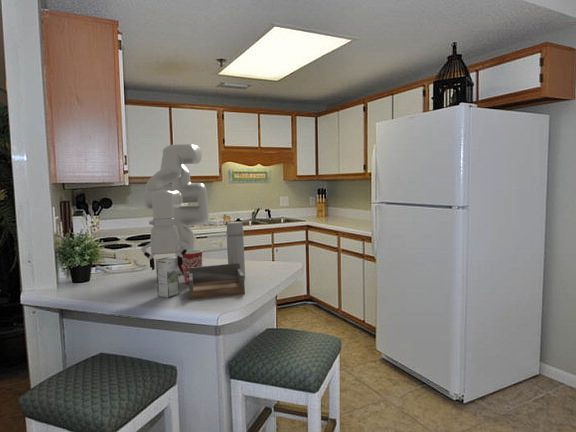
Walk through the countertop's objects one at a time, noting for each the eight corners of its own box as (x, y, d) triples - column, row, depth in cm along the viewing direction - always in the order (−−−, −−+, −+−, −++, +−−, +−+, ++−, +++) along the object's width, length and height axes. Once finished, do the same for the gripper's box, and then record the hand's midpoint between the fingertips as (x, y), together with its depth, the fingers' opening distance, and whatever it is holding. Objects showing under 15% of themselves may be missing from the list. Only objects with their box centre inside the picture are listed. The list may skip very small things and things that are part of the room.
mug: (208, 280, 170) (207, 249, 169) (194, 285, 162) (192, 253, 161) (186, 278, 176) (185, 248, 175) (172, 283, 168) (170, 252, 167)
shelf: (190, 289, 157) (189, 267, 156) (240, 284, 161) (239, 263, 160) (190, 299, 143) (188, 275, 142) (244, 293, 148) (243, 270, 147)
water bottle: (243, 282, 165) (240, 223, 162) (225, 282, 166) (222, 223, 164) (249, 277, 174) (247, 220, 171) (232, 276, 175) (230, 221, 173)
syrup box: (169, 292, 154) (166, 255, 153) (179, 294, 151) (177, 256, 150) (157, 296, 149) (155, 258, 148) (168, 298, 146) (166, 259, 145)
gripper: (138, 225, 142) (141, 272, 143) (187, 222, 146) (190, 268, 147) (140, 223, 149) (143, 268, 150) (187, 221, 153) (190, 264, 154)
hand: (166, 268), depth 148 cm, fingers open, 9 cm apart
